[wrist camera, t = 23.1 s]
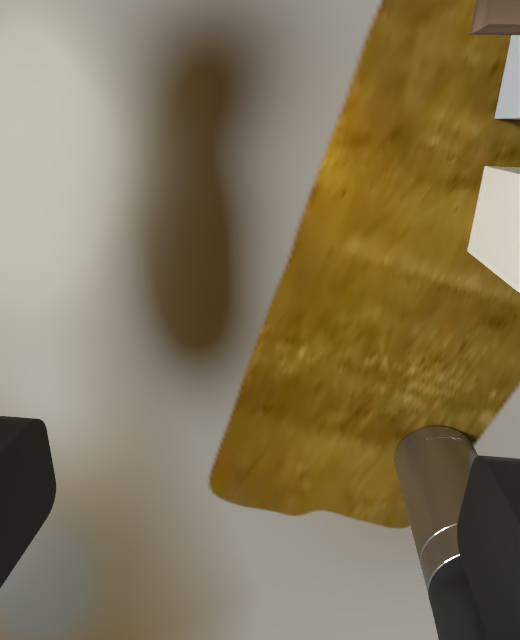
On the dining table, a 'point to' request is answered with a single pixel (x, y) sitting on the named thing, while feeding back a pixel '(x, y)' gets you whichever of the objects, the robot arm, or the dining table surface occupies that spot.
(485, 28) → the mallet
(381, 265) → the dining table surface
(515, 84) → the short pedestal
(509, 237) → the tall pedestal
